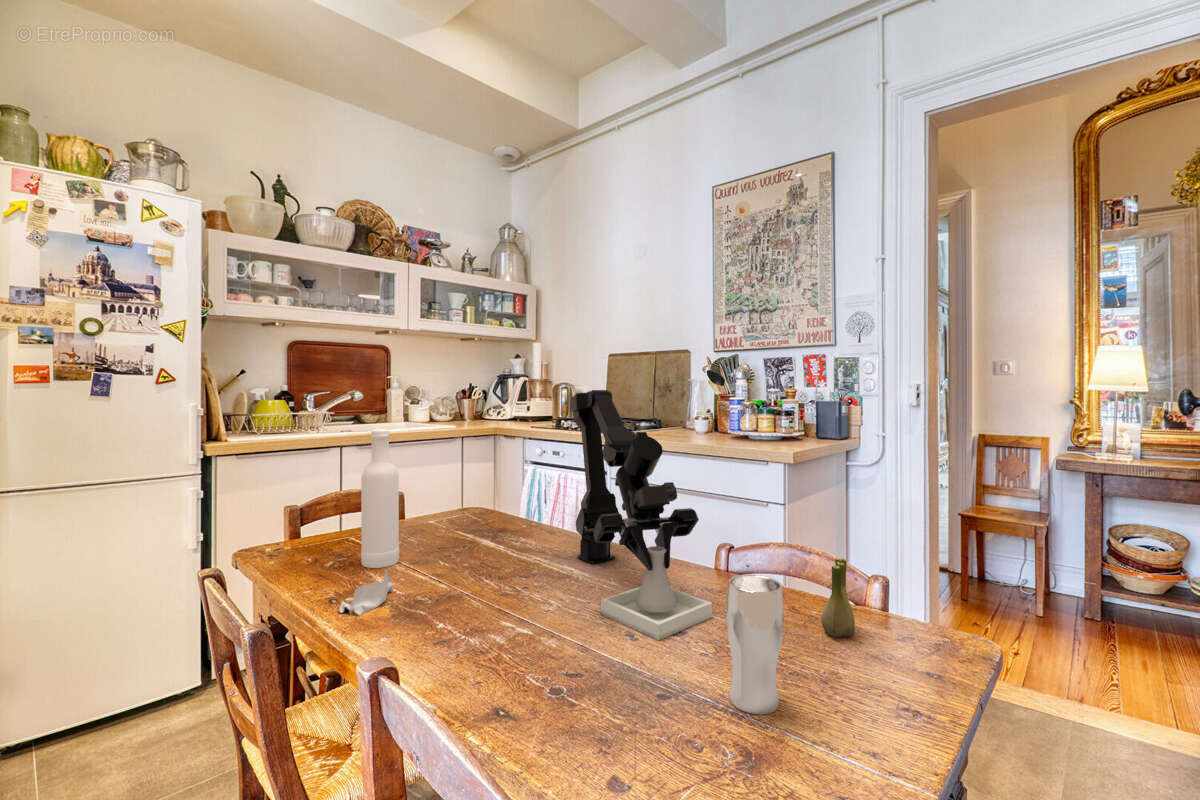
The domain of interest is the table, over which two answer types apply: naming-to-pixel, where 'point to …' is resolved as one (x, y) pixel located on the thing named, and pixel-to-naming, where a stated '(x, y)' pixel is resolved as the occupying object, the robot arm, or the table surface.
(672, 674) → the table surface
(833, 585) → the fennel bulb
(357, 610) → the wrapped candy
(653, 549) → the flask
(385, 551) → the bottle
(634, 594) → the tray
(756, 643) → the beer glass
